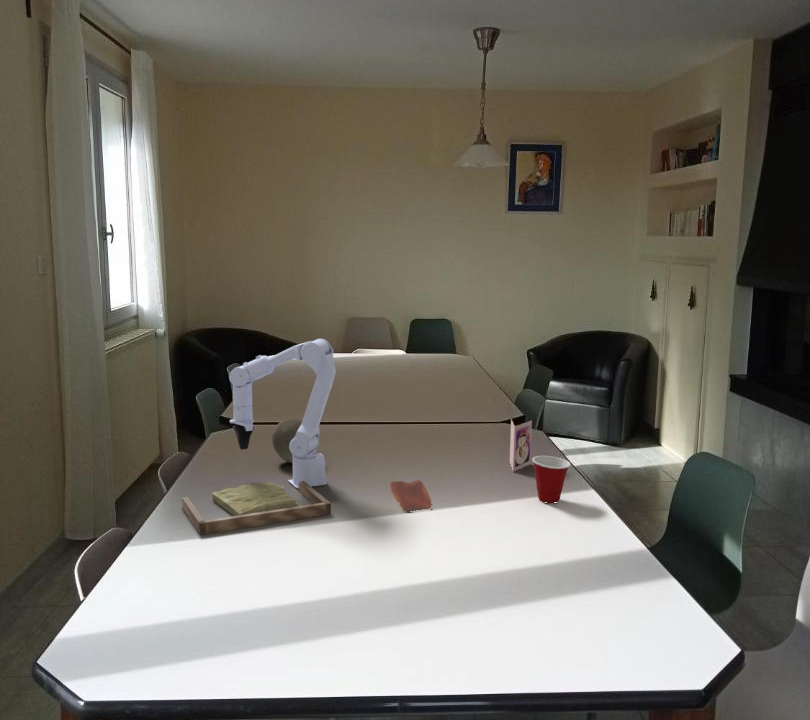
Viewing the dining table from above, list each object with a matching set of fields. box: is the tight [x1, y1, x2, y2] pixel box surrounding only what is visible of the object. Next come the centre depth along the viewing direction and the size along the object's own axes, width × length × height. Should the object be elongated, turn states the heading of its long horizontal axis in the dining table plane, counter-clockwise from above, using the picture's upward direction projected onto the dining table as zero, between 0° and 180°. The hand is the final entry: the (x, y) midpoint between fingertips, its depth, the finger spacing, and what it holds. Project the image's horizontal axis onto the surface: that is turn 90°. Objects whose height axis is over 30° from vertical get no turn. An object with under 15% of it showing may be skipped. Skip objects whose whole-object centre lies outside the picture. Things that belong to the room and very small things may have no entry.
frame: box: [181, 481, 332, 536], centre depth 211 cm, size 35×22×3 cm, turn 117°
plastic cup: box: [531, 455, 572, 504], centre depth 222 cm, size 11×11×12 cm
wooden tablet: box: [389, 480, 433, 513], centre depth 225 cm, size 27×10×2 cm, turn 8°
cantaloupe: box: [271, 418, 303, 465], centre depth 255 cm, size 14×14×15 cm
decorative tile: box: [211, 481, 299, 516], centre depth 217 cm, size 18×20×4 cm
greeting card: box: [509, 418, 533, 473], centre depth 254 cm, size 11×7×15 cm, turn 143°
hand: (243, 448), depth 239 cm, fingers closed
